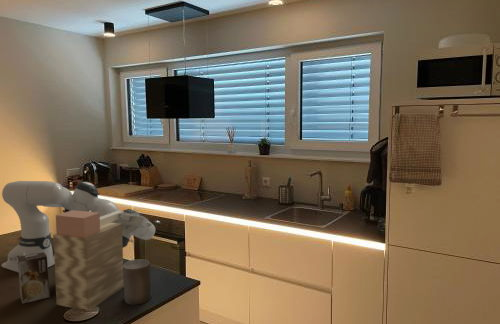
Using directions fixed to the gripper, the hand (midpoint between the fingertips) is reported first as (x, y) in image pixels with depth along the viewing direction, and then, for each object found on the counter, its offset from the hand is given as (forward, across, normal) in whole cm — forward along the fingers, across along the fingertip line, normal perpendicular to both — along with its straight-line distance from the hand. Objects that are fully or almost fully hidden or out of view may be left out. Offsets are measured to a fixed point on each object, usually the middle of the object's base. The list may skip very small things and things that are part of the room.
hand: (115, 214), depth 154 cm
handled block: (+8, 0, -7) cm, 11 cm away
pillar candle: (-3, -18, -30) cm, 35 cm away
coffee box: (+6, +19, -36) cm, 41 cm away
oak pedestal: (-1, 0, -32) cm, 32 cm away
